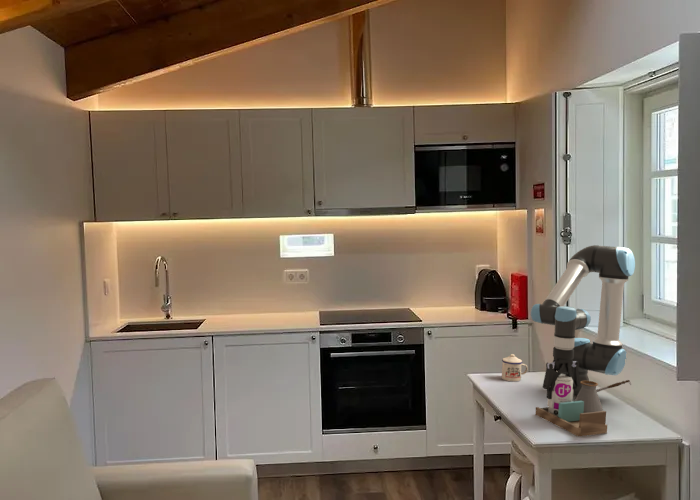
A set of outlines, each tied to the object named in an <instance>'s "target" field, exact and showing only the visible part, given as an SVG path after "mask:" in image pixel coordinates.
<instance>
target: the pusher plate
mask: <svg viewBox="0 0 700 500" xmlns="http://www.w3.org/2000/svg"><path fill="white" fill-rule="evenodd" d="M583 412H584V402H583V401H575V400H573V402H563V403H559V411H558V417H559V418H561V419H563V420H565V421H567V422H570V421H579V419H580V413H583Z"/></svg>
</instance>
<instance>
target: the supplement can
mask: <svg viewBox="0 0 700 500" xmlns="http://www.w3.org/2000/svg"><path fill="white" fill-rule="evenodd" d="M550 387H551V386H550ZM572 389H573V380H572V377H569V376H566V375H565V374H560V375H559V377H558V378H557V379H556V381H555V386H554V389H553V391H555V395H554V408H550V407H549V410H548V412H549V413H551V414H553V415H555V416H557V417H558V411H559V403H563V402H572Z"/></svg>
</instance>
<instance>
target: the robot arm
mask: <svg viewBox="0 0 700 500" xmlns="http://www.w3.org/2000/svg"><path fill="white" fill-rule="evenodd" d="M635 269H636V260H635V255H634V253H633V251H632V250H631V249H630V248H628V247H621V246H610V245H609V246H608V245H598V244H597V245H595V244H594V245H588V246H586V247H584V248H582V249H580V250H579V251H577V252H576V253H574V255H573V256H571V257H570V259H569V260H568V262H567V263H566V269H565V270H564V271H563V273H562V275H561V276H560V278H559V279H558V280H557V282H556V284H555V285H554V287H553V288H552V289H551V290H550V293H549V294H548V295H547V297H545V299H544V301H542V304H541V303H536V304H533V305H532V307H531V310H530V318H531V320H532V321H533V322H535V323H538V324H544V325H550V326H554V332H553V333H554V334H553V346H554V347H553V349H552V356H553V360H552V362H546V363H545V367H546V369H545V374H544V379H543V383H542V388H543V389H545V390H546V398H547V404H546V405H547V407H550V408H554V395H555V391H553V389H554V386H555V381H556V379H557V378H558V377H559V375H560V374H565V375H566V376H569V377H572V380H573V389H572V402H573V401H574V397H575V396H577V395H578V393H579V392H580V390H581V388H582V384H581V383H580V382H581V381H590V379H589V376H588V375H589V371H590V372H595V373H599V374H604V375H607V376H608V375H609V376H618V375H619V374H621V373H622V371H623V370H624V368H625V365H626V363H625V359H626V360H627V358H626V354H627V350H625V349H624V348H623V343H622V342H621V341H620V332H621V331H620V329H621V320H622V319H621V318H622V309H623V300H624V299H623V297H624V289H625V287H624V286H625V283H627V282H628V281H629V277H631V276H633V275H634V273H635ZM590 273H599V274H598V278H599V280H601V292H600V302H599V312H598V324H597V325H598V326H597V335H596V336H597V337H596V338H594V339H593V340H592V343H591V341H590V339H589V338H585V337H576V331H577V330H582V329H584V328H586V327H588V326H589V324H590V323H591V320H592V319H591V315H590V313H589V312H588V311H587V310H586V309H584V308H575V307H573V306H566V304H567V302H568V300H569V299H570V298H571V296H572V295H573V293H574V292H575V290H576V288H577V287H578V285H579V284H580V282H581V281H582V279H583V278H585V277H587V276H588V275H589V274H590ZM550 386H551V387H550Z"/></svg>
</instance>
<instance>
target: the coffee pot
mask: <svg viewBox="0 0 700 500" xmlns="http://www.w3.org/2000/svg"><path fill="white" fill-rule="evenodd" d="M580 383H581V384H582V388H581V390H580V392H579V393H578V395H576V397H575V399H574V401H583V402H584V412H583V413H589V412H598V411H604V409H603V408H604V407H603V405H602V403H601V400H600V397H599V394H598V393H599V392H601V391H605V390H607V389H611V388H615V387H619V386H621V385H625V384H626V383H628V384H629V385H630V386H632V383H631V381H630V380H629V379H627V380H622V381H619V382H616V383H613V384H610V385H607V386H605V387H601V388H597V386H598V385H599V383H598V382H595V381H592V380H589V381H581V382H580Z"/></svg>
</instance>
